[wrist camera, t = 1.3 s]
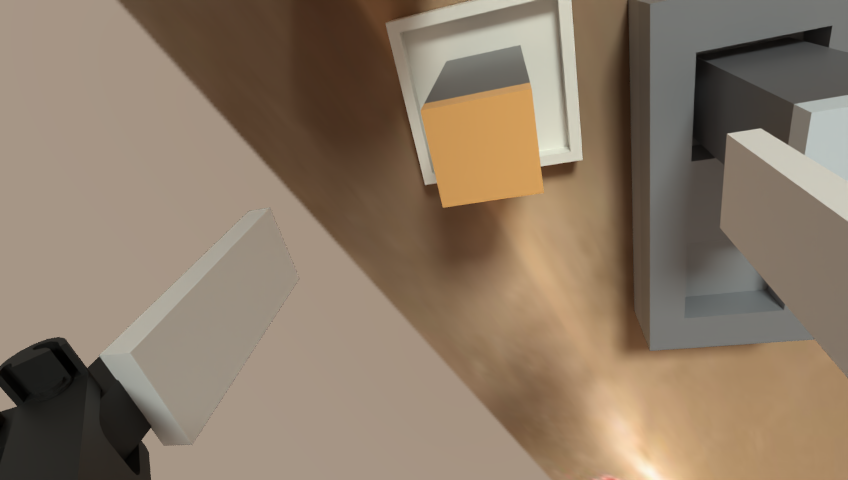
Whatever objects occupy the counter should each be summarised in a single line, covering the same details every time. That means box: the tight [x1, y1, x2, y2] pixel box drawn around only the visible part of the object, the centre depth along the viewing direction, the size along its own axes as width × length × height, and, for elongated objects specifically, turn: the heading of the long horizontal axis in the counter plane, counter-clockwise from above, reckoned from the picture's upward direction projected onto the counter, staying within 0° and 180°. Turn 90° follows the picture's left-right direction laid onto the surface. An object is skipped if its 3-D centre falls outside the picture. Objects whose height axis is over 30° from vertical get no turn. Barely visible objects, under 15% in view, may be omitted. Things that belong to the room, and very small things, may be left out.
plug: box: [421, 45, 544, 208], centre depth 22 cm, size 4×4×10 cm
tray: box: [385, 0, 583, 185], centre depth 26 cm, size 9×9×2 cm
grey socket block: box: [628, 0, 848, 351], centre depth 26 cm, size 20×9×4 cm, turn 13°
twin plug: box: [692, 37, 848, 181], centre depth 19 cm, size 4×4×10 cm
